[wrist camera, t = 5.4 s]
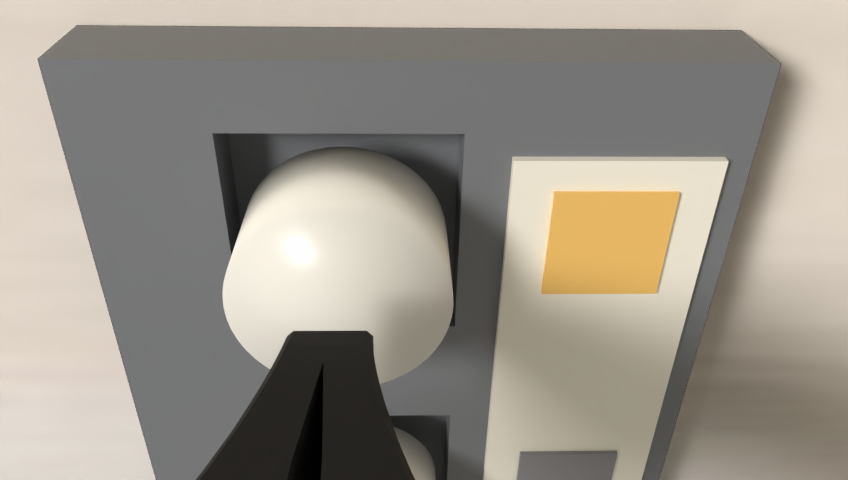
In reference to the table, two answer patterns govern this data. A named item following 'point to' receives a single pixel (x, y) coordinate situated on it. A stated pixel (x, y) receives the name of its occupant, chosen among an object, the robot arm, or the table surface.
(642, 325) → the button board
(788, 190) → the table surface
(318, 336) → the robot arm
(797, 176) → the table surface
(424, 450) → the middle button
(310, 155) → the button
